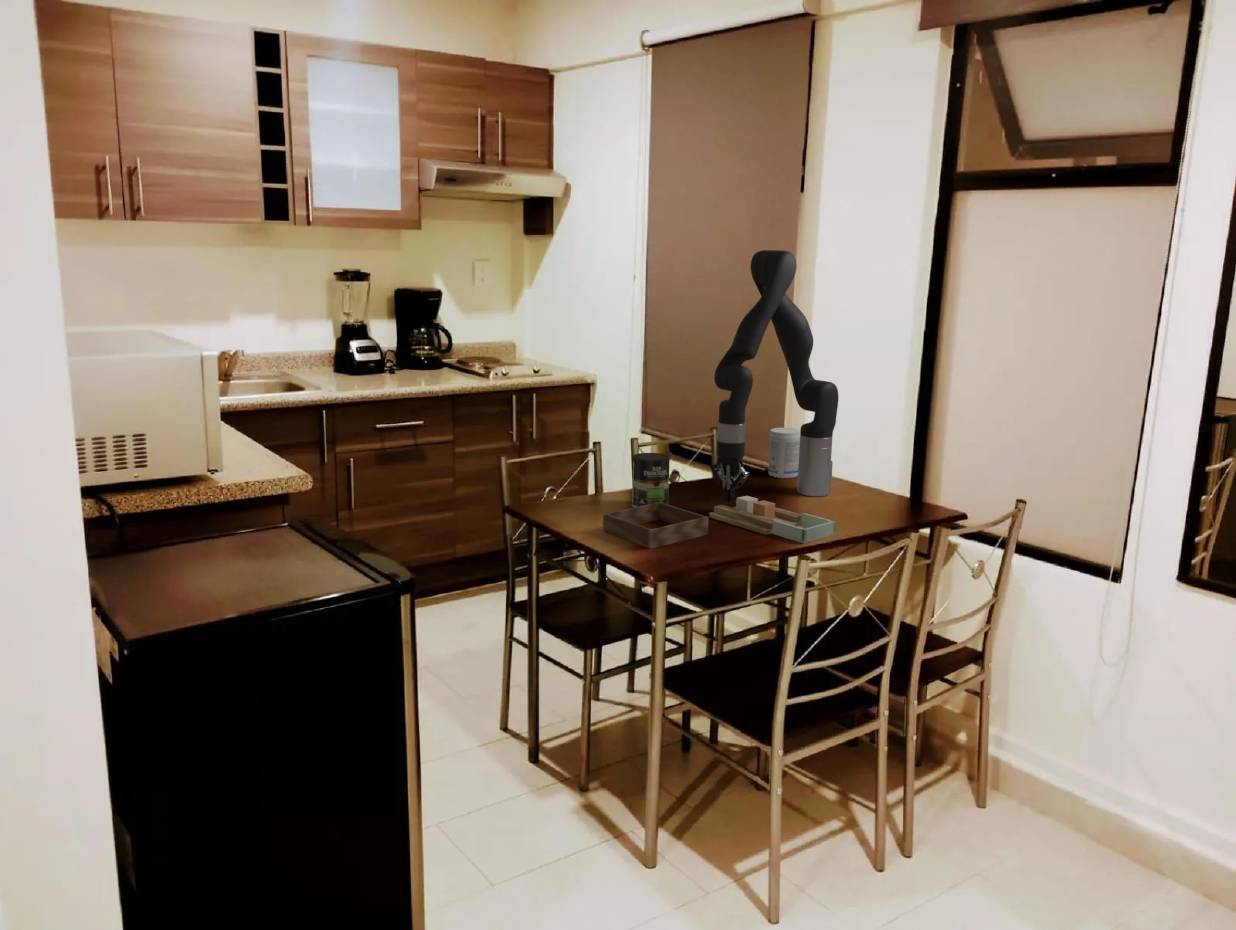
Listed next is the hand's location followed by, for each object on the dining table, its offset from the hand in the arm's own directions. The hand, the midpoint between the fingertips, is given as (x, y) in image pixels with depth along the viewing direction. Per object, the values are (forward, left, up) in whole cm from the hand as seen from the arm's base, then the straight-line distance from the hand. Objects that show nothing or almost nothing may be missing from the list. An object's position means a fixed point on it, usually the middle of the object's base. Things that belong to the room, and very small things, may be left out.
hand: (728, 501), depth 256 cm
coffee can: (+13, -17, -3) cm, 22 cm away
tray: (0, +26, -3) cm, 26 cm away
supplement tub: (-45, -19, -3) cm, 49 cm away
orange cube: (0, +13, -2) cm, 13 cm away
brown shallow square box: (+29, +3, -3) cm, 29 cm away
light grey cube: (0, +7, -2) cm, 7 cm away
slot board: (0, +11, -3) cm, 11 cm away
